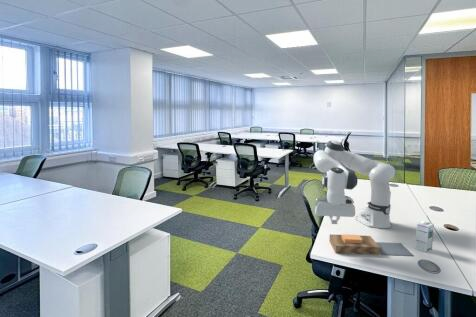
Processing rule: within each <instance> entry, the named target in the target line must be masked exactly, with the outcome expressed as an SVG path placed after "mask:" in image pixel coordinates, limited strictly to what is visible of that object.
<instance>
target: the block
mask: <svg viewBox="0 0 476 317" xmlns="http://www.w3.org/2000/svg"><path fill="white" fill-rule="evenodd" d="M341 235H342V239H343V241H344V242H345V243H362V241H363V240H362V238H361V237H360V236H359V235H360V234H346V233H345V234H344V233H343V234H341Z"/></svg>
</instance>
